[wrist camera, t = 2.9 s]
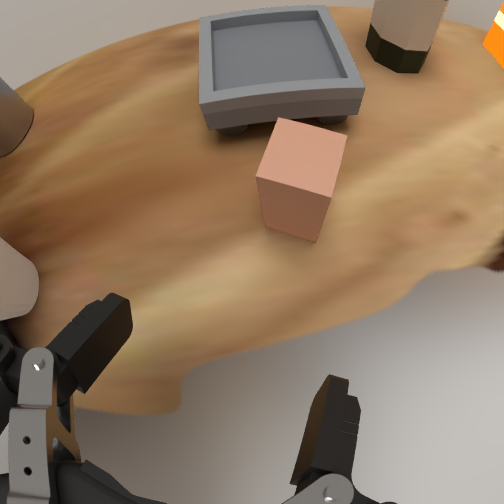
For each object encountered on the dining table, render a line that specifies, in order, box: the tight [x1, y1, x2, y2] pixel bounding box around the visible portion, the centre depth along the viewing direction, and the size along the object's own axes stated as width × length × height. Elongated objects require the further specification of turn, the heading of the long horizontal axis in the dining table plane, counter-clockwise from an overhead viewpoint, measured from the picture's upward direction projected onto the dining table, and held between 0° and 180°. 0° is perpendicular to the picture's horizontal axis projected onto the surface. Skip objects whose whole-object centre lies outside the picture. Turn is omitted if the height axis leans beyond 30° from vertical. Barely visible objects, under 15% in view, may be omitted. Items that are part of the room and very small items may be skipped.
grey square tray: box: [199, 5, 365, 136], centre depth 28 cm, size 14×14×7 cm
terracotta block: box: [256, 117, 347, 243], centre depth 23 cm, size 5×5×10 cm
